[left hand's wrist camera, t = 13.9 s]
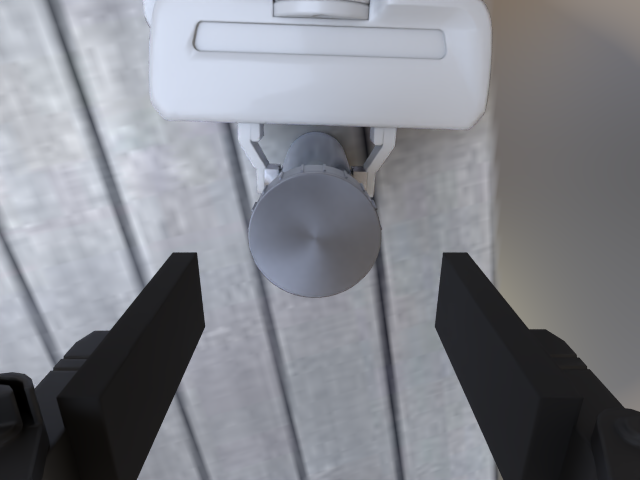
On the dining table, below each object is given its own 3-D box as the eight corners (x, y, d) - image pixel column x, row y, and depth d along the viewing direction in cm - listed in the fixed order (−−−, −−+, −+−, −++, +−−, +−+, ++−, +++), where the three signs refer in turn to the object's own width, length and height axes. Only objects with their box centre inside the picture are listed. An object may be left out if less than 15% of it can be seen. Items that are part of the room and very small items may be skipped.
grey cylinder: (354, 179, 36) (382, 265, 20) (298, 199, 36) (284, 297, 21) (334, 122, 34) (349, 165, 18) (276, 144, 35) (242, 204, 19)
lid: (393, 259, 21) (399, 275, 20) (280, 296, 22) (276, 315, 20) (354, 144, 19) (358, 151, 18) (231, 189, 20) (224, 200, 18)
